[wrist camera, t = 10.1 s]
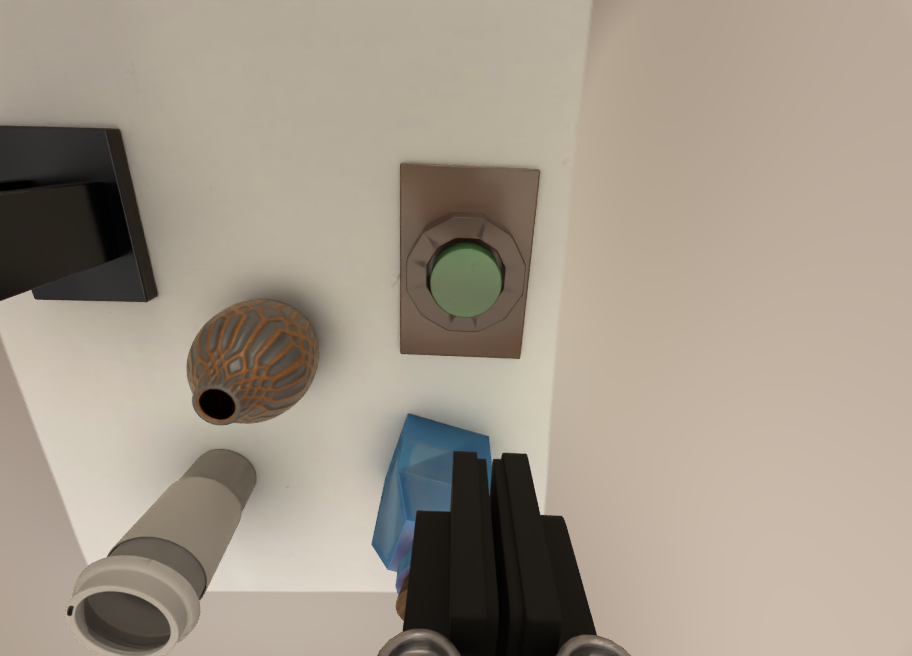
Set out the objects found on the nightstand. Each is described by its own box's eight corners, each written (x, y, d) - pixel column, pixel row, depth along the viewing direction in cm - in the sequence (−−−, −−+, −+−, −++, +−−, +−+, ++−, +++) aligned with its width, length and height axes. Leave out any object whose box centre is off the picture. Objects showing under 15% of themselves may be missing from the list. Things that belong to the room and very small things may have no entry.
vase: (208, 300, 30) (118, 359, 22) (308, 275, 30) (253, 328, 22) (250, 390, 33) (183, 473, 25) (343, 369, 32) (306, 448, 24)
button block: (401, 162, 27) (396, 165, 25) (538, 169, 27) (546, 172, 25) (401, 349, 32) (397, 366, 29) (518, 354, 32) (523, 371, 30)
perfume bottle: (408, 413, 34) (384, 550, 23) (488, 436, 34) (504, 579, 23) (385, 479, 36) (353, 632, 25) (461, 499, 37) (463, 657, 26)
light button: (432, 240, 27) (430, 247, 25) (502, 243, 27) (504, 250, 25) (430, 306, 28) (429, 316, 27) (496, 308, 28) (499, 319, 27)
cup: (193, 422, 34) (66, 561, 23) (282, 455, 35) (201, 603, 24) (171, 492, 36) (46, 648, 25) (254, 521, 38) (170, 683, 26)
